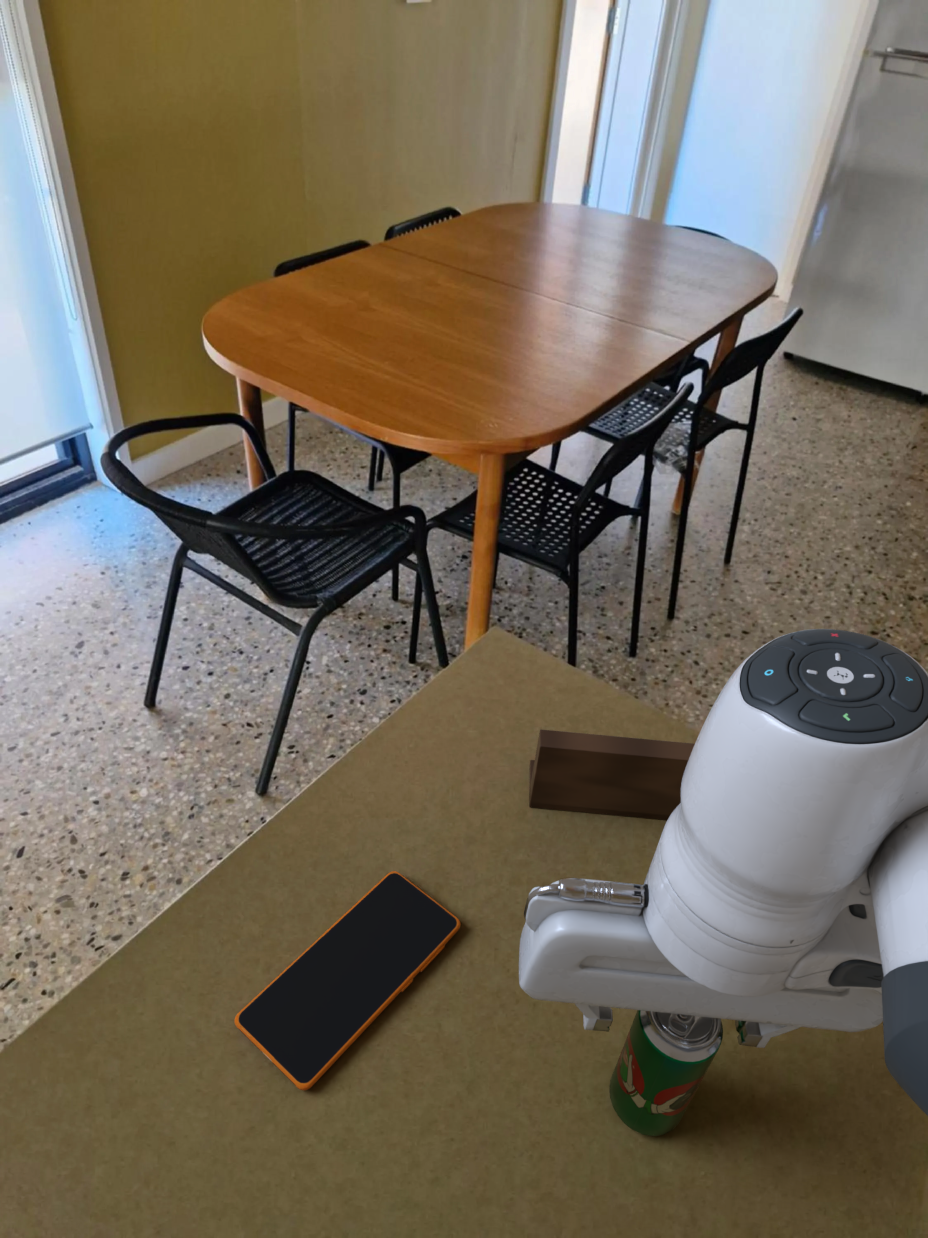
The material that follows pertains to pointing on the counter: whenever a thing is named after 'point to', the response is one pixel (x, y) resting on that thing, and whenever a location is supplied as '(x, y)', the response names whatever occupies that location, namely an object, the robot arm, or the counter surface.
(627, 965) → the robot arm
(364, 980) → the smartphone
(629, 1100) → the soda can
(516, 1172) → the counter surface
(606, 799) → the brown rectangular block
